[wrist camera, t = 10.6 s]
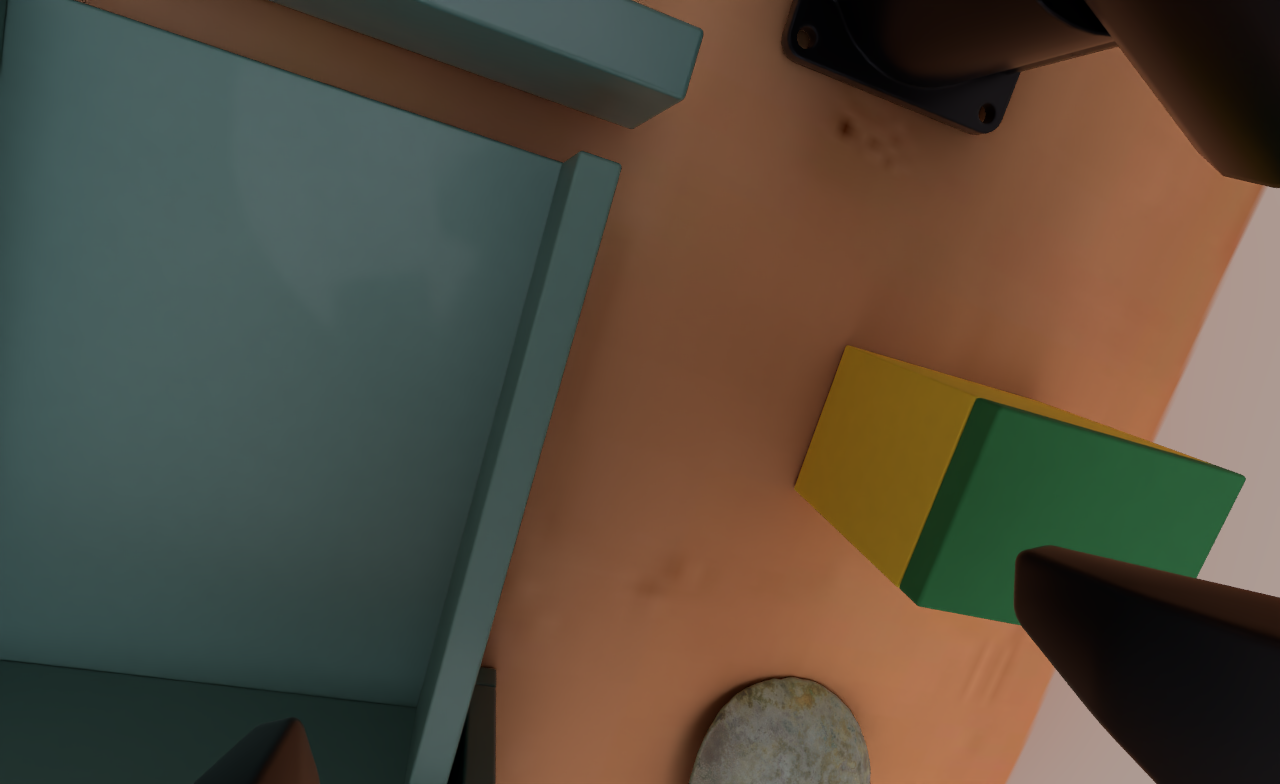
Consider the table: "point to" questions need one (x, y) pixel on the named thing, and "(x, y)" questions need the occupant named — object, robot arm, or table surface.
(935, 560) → the sponge
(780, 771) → the soupspoon
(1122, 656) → the robot arm
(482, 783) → the cabinet
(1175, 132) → the table surface
